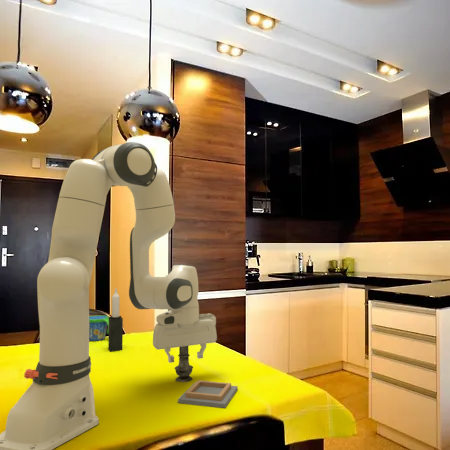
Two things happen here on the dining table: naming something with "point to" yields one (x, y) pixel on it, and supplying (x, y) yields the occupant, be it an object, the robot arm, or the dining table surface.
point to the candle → (115, 326)
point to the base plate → (209, 394)
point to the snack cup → (98, 327)
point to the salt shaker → (183, 366)
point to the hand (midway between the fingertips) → (185, 360)
